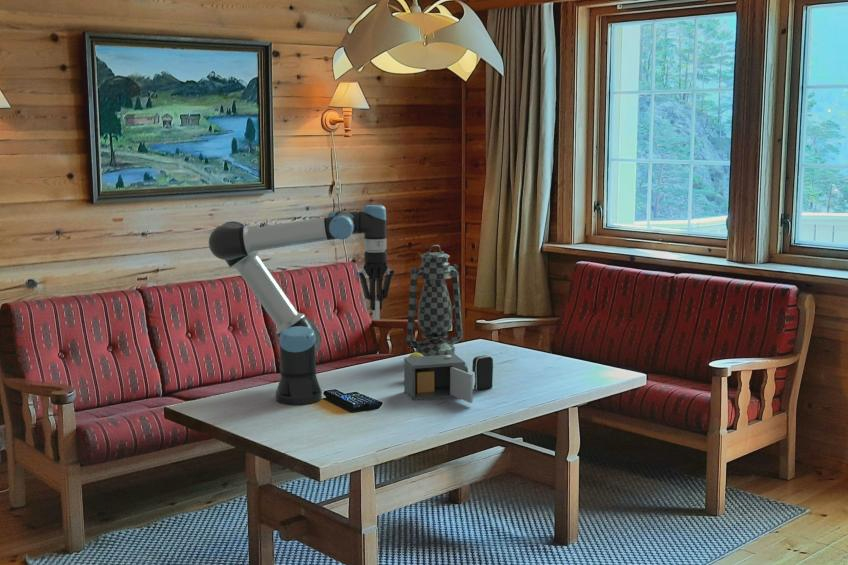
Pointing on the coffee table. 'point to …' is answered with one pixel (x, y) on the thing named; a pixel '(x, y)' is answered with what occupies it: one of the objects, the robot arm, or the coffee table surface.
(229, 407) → the coffee table surface
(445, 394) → the small grey cabinet
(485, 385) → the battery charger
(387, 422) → the coffee table surface
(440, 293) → the lantern
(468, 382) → the cabinet door
